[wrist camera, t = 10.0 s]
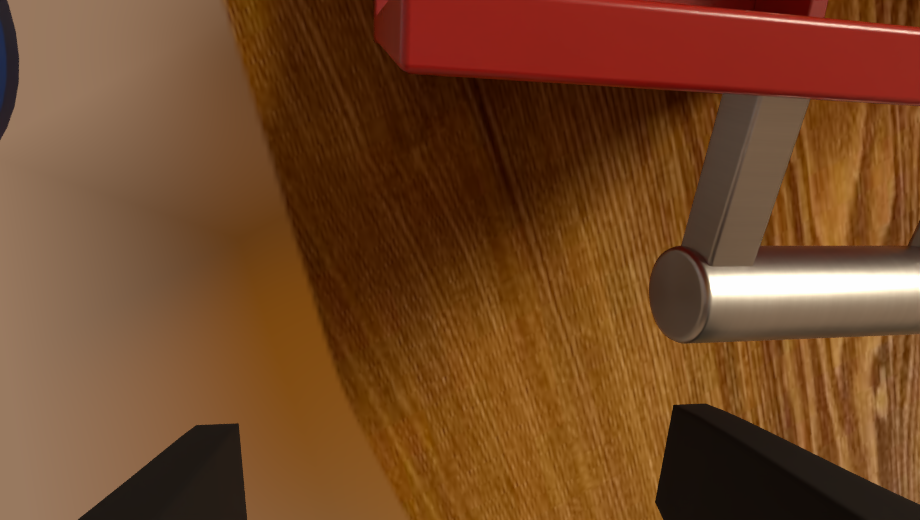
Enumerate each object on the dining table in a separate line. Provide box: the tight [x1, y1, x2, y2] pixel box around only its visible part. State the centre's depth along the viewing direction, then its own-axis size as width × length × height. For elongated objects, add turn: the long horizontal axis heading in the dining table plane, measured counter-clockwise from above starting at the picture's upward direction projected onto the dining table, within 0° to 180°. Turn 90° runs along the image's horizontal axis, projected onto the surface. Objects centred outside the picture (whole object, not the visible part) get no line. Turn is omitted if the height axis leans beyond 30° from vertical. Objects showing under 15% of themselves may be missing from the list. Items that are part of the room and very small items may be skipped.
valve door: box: [375, 0, 920, 343], centre depth 10 cm, size 10×13×4 cm
